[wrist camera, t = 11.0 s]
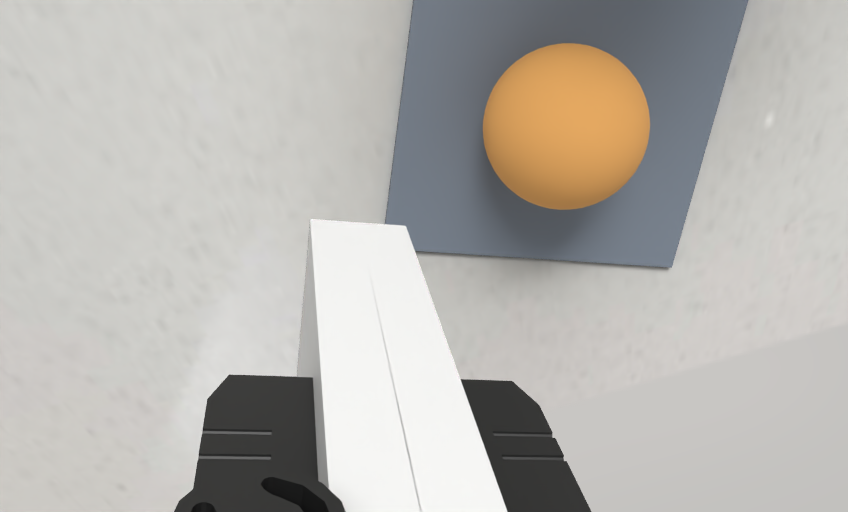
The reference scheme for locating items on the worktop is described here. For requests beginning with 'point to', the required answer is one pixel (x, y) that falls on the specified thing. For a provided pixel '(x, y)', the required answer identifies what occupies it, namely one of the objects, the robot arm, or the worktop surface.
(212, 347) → the worktop surface
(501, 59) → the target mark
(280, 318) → the worktop surface
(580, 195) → the ball
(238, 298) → the worktop surface
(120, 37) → the worktop surface
